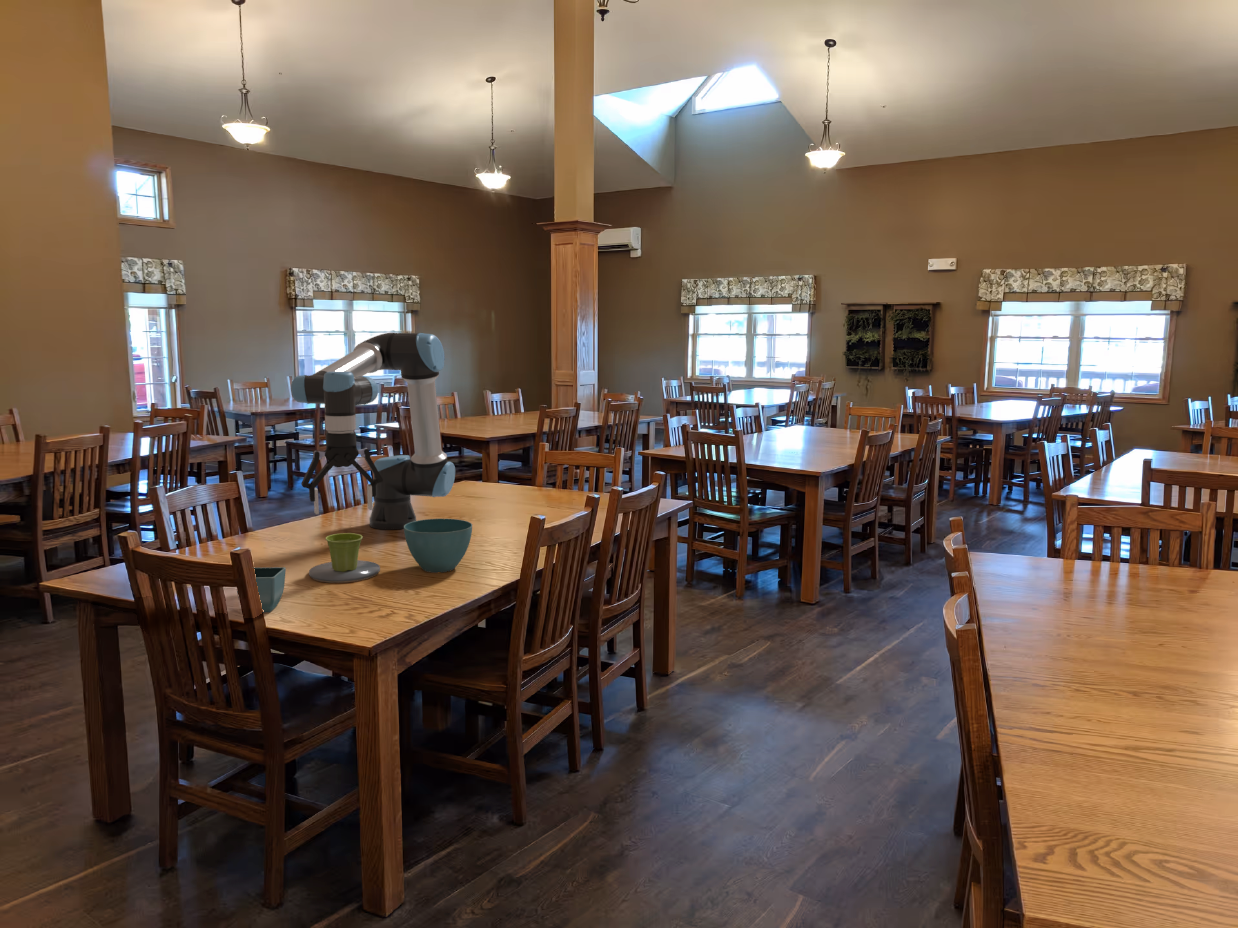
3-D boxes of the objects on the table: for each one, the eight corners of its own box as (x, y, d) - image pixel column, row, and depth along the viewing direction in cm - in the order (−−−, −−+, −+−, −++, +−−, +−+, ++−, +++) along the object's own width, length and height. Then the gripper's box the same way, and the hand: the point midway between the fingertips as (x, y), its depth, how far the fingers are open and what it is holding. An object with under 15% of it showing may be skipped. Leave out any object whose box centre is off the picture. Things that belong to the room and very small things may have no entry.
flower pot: (249, 603, 196) (247, 566, 195) (287, 603, 197) (286, 566, 195) (235, 616, 187) (233, 577, 186) (276, 615, 188) (274, 577, 187)
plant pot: (368, 565, 226) (368, 533, 225) (354, 574, 217) (353, 542, 216) (335, 563, 227) (334, 532, 226) (320, 572, 218) (319, 540, 217)
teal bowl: (394, 566, 230) (393, 522, 229) (454, 556, 241) (453, 515, 239) (421, 582, 216) (421, 535, 214) (484, 571, 227) (484, 527, 225)
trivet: (372, 561, 234) (372, 557, 234) (386, 578, 218) (386, 574, 218) (305, 568, 226) (304, 564, 226) (313, 586, 210) (313, 581, 210)
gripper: (386, 427, 225) (388, 504, 229) (287, 431, 214) (291, 512, 218) (392, 431, 219) (394, 509, 222) (291, 435, 208) (295, 518, 211)
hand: (343, 511), depth 220 cm, fingers open, 13 cm apart
